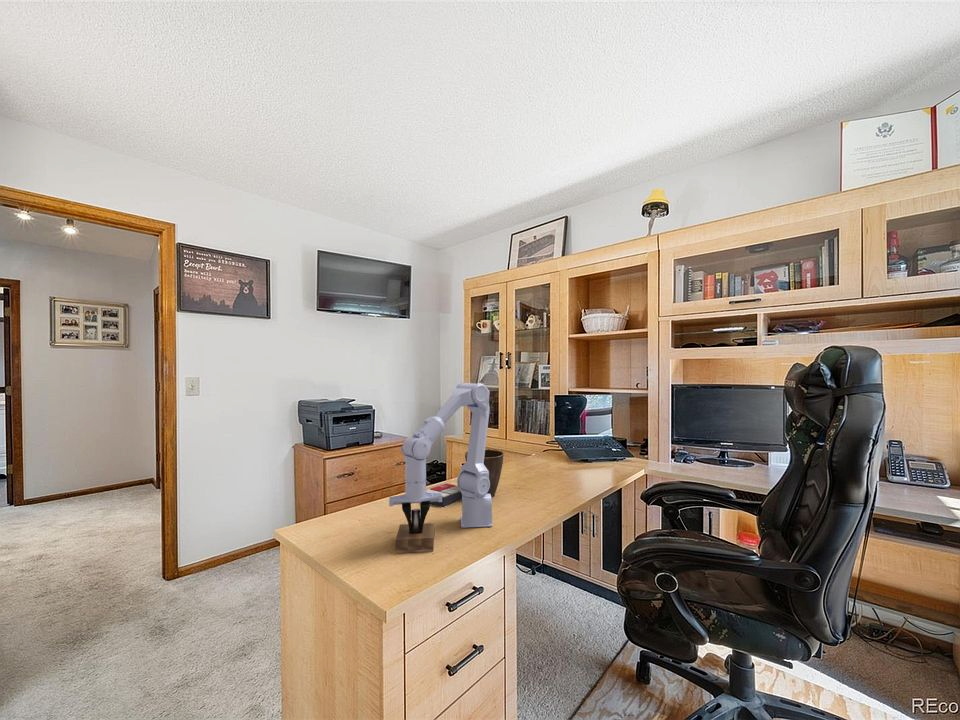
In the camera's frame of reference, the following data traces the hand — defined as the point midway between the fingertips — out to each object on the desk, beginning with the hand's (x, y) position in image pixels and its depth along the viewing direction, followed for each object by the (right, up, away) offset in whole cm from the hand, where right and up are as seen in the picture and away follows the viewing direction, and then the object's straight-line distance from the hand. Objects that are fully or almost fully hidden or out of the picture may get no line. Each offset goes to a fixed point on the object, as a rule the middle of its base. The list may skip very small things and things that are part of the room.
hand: (415, 529), depth 110 cm
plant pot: (+20, -5, +41) cm, 45 cm away
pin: (0, -2, 0) cm, 2 cm away
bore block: (0, -4, 0) cm, 4 cm away
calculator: (+5, -5, +37) cm, 38 cm away
